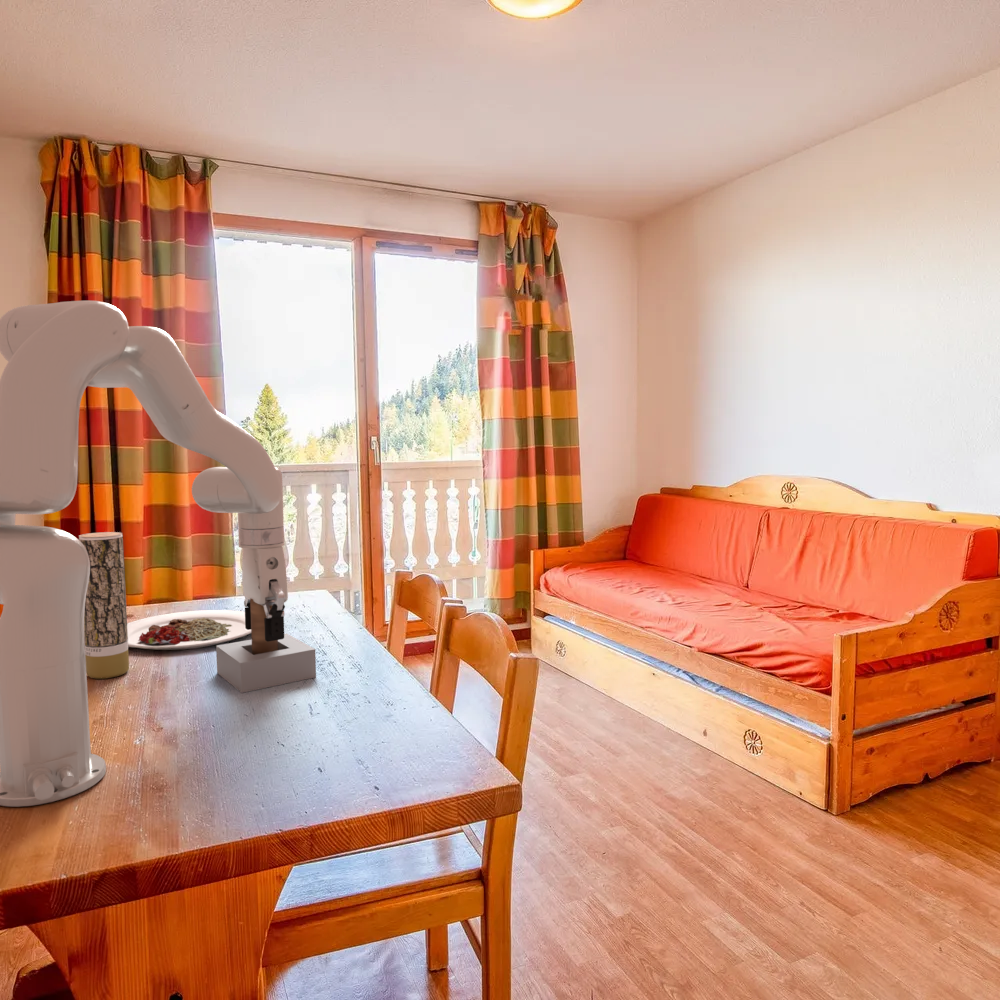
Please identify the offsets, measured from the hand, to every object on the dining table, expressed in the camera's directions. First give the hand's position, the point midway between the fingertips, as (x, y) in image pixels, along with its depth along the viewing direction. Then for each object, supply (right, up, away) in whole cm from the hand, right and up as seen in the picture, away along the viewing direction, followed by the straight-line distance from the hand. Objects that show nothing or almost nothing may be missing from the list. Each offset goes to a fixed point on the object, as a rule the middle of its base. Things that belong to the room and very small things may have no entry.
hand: (264, 633), depth 132 cm
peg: (0, -7, +1) cm, 7 cm away
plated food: (-25, -6, +28) cm, 38 cm away
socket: (0, -7, +1) cm, 7 cm away
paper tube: (-28, -8, +2) cm, 29 cm away
